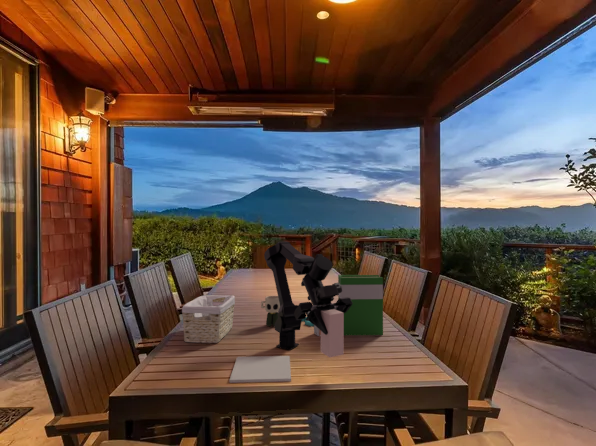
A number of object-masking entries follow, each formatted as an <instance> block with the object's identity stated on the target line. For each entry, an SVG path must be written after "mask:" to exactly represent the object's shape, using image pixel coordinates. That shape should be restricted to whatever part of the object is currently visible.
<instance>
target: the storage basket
mask: <svg viewBox="0 0 596 446" xmlns="http://www.w3.org/2000/svg"><path fill="white" fill-rule="evenodd" d="M214 303H220V304H217V305H214ZM235 303H236V296H235V295H232V294H231V295H228V294H227V295H225V294H224V295H223V294H222V295H220V294H218V295H217V294H215V295H212V294H211V295H207V294H205V295H201V296H198V297H196V298H194V299H193V300H191V301H188V302H186V303H184V305H183V306H182V309H181V313H182V321H183V323H182V326H183V338H184V339H183V341H184V343H185V342H186V343H198V344H199V343H202V344H206V343H207V344H212V343H214V344H216V343H219V342H220V341H221V340H222V339H223V338H224V337H225V336H226V335H227V334H228V333H229V332H230V331H231V330H232V328H233V321H234V312H235V310H234V309H235V305H236V304H235Z"/></svg>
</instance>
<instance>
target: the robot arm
mask: <svg viewBox="0 0 596 446" xmlns="http://www.w3.org/2000/svg"><path fill="white" fill-rule="evenodd" d="M263 258H264V260H265V262H266V265H267V267H268V268H269V269H270V270H271V271H272V274H273V275H272V276H273V280H274V283H275V284H274V285H275V288H276V292H277V296H278V298H279V303H280V308H279V311H278V319H277V320H276V322H275V324H274V326H273V327H274V330H275V331H276V332H277V333H278V334H279V335H278V336H279V337H278V338H279V339H278V341H279V343H278V344H276V345H275V347H276V348H278V349H282V350H284V349H285V350H289V351H291V350H293V349H294V348H296V347H298V346H299V345H300V344H299V343H297V342H296V331H300V330H301V325H302V323H303V322H302V319H305V317H307V318H306V321H310V322H311V323H312V324H314V325H315V326H316V327H317V328H319V329H320V330H321V331H322V332H323V333H324V334H325V335H327V334H328V331H327V328H326V326H325V323H324V321H323V319H322V317H321V311H324V310H332V309H335V310H338V311H340V312H343V313H346V312H347V311H348V310H349V308H350V307H351V306H352V304H353V303H352V301H351V299H350V298H348V297H345V298H339V299H338V298H337V300H336V302H333V301H334V300H335V297H336V296H338V295H339V293H341V292H342V287H341V285H340V284H339V283H338V282H334V283H332V284H331V285H330V284H328V285H324V283H323V281H324V280H325V279H326V278H327V276H328V275H329V273H330V272H331V270H332V268H333V261H332V260H330V259H329V258H328V257H326V256H324V255H323V254H322V253H317V254H315V257H313V256H311V255H307V254H306V255H305V254H303V253H301V252H300V251H299V250H298V249H297V248H296V247H294V246H293V245H292V244H291V242H290V241H278V242H276V243H275V244H274V245H272V246H270V247H269V248H267V249H266V251H264V257H263ZM287 260H288V261H289V262H290V264H292V270H293V271H294V272H295V274H296V275H297V276H303V275H304V276H303V277H302V281H301V283H300V286H301V287H304V288H305V290H306V291H307V292H306V293H307V295H308V296H307V300H308V301H305V302H299V303H298V304H295V303H294V302H293V300H292V294H291V291H290V286H289V282H288V278H287V273H286V270H285V269H286V268H285V266H286V263H287Z"/></svg>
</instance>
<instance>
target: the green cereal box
mask: <svg viewBox="0 0 596 446" xmlns="http://www.w3.org/2000/svg"><path fill="white" fill-rule="evenodd" d="M337 278H338V279H337V281H338V282H337V283H339V284H340V285H341V287H342V292H341V293H339V295H337V297H338V298H337V300H338V299H339V298H345V297H348V298H350V299H351V301H352V303H353V304H352V306H351V307H350V308H349V310H348V311H347V312H346V313H344V336H384V309H383V308H384V277H382V276H380V274H338V276H337Z"/></svg>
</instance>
